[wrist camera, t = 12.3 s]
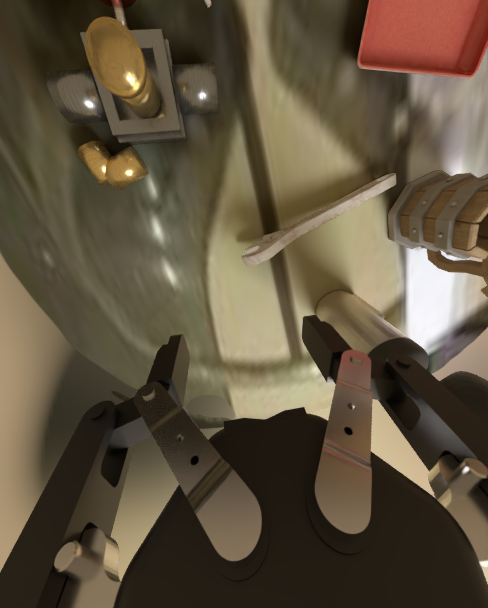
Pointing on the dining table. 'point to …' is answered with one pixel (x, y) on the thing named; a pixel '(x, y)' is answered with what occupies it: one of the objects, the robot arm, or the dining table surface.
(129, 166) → the brass elbow
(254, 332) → the dining table surface
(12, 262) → the dining table surface
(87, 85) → the valve body
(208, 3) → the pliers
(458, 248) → the tankard
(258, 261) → the wrench
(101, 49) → the brass knob
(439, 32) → the plant saucer
